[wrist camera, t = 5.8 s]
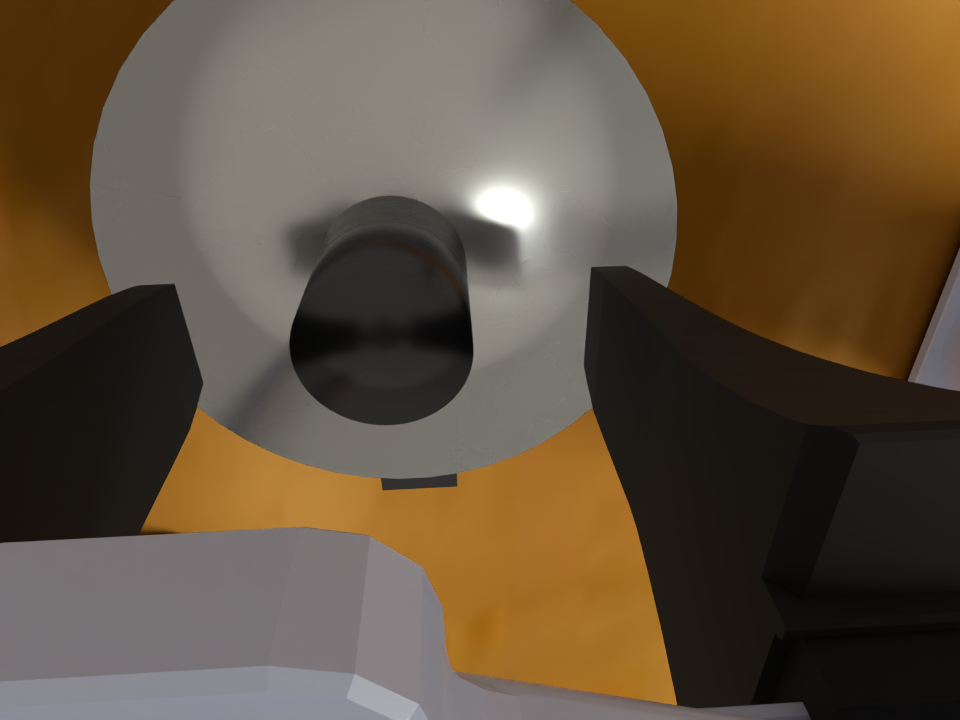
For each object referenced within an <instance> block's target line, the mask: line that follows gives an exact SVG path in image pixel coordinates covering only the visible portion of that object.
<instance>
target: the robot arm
mask: <svg viewBox="0 0 960 720" xmlns="http://www.w3.org/2000/svg"><path fill="white" fill-rule="evenodd" d="M584 370H585V375H586V380H587V385H588V390H589V394H590V398H591V403H592V407H593V411H594V413H595V416H596V419H597V422H598V424H599V427H600V430H601V432H602V435H603V438H604V440H605V443H606V445H607V448H608V451H609V453H610V456H611V458H612V461H613V464H614V466H615V469H616V471H617V474H618V477H619V479H620V482H621V484H622V487H623V490H624V492H625V495H626V497H627V500H628V503H629V505H630V508H631V511H632V515H633V518H634V521H635V524H636V527H637V531H638V535H639V539H640V542H641V546H642V550H643V554H644V558H645V562H646V566H647V570H648V574H649V578H650V582H651V587H652V591H653V595H654V600H655V604H656V608H657V612H658V617H659V621H660V625H661V629H662V634H663V639H664V644H665V648H666V653H667V658H668V662H669V667H670V672H671V677H672V681H673V686H674V691H675V695H676V701H677V705H671V704H664V703H658V702H651V701H645V700H638V699H632V698H625V697H619V696H612V695H606V694H599V693H593V692H586V691H580V690H573V689H567V688H560V687H554V686H547V685H541V684H534V683H528V682H521V681H515V680H508V679H502V678H495V677H489V676H482V675H476V674H469V673H463V672H456V671H454V670H453V669H452V668H451V665H450V661H449V658H448V655H447V651H446V641H445V628H444V615H443V607H442V605H441V603H440V601H439V599H438V597H437V595H436V593H435V591H434V589H433V587H432V585H431V583H430V581H429V579H428V577H427V575H426V573H425V571H424V569H423V567H422V566H420V565H418V564H416V563H415V562H413V561H411V560H410V559H408V558H406V557H404V556H403V555H401V554H399V553H398V552H396V551H394V550H392V549H391V548H389V547H387V546H386V545H384V544H382V543H380V542H379V541H377V540H375V539H374V538H372V537H370V536H367V535H363V534H355V533H347V532H340V531H332V530H324V529H317V528H309V527H293V528H274V529H255V530H236V531H217V532H198V533H179V534H160V535H141V536H138V535H139V533H140V530H141V528H142V526H143V524H144V522H145V520H146V518H147V516H148V514H149V512H150V510H151V508H152V506H153V504H154V502H155V500H156V498H157V496H158V494H159V492H160V490H161V488H162V486H163V484H164V482H165V480H166V478H167V476H168V474H169V472H170V470H171V468H172V466H173V464H174V462H175V460H176V457H177V455H178V453H179V451H180V449H181V447H182V445H183V443H184V441H185V439H186V436H187V434H188V432H189V430H190V427H191V424H192V421H193V418H194V415H195V412H196V409H197V405H198V401H199V398H200V394H201V390H202V387H203V383H204V382H203V379H202V376H201V372H200V369H199V365H198V362H197V358H196V355H195V352H194V348H193V345H192V341H191V338H190V335H189V331H188V328H187V324H186V321H185V317H184V314H183V311H182V307H181V304H180V300H179V297H178V294H177V290H176V287H175V284H155V285H138V286H134V287H131V288H128V289H125V290H122V291H120V292H117V293H115V294H112V295H110V296H108V297H105V298H103V299H101V300H99V301H97V302H95V303H93V304H90V305H88V306H86V307H84V308H82V309H80V310H78V311H76V312H74V313H72V314H70V315H68V316H66V317H64V318H62V319H60V320H58V321H56V322H53V323H51V324H49V325H47V326H45V327H43V328H41V329H39V330H37V331H35V332H33V333H31V334H28V335H26V336H24V337H22V338H20V339H17V340H15V341H13V342H11V343H9V344H6V345H4V346H2V347H0V720H960V249H959V251H958V254H957V256H956V259H955V261H954V264H953V266H952V269H951V272H950V274H949V277H948V279H947V282H946V284H945V287H944V289H943V292H942V294H941V297H940V300H939V302H938V305H937V307H936V310H935V312H934V315H933V317H932V320H931V322H930V325H929V328H928V330H927V333H926V335H925V338H924V340H923V343H922V345H921V348H920V350H919V353H918V356H917V358H916V361H915V363H914V366H913V368H912V371H911V373H910V376H909V379H908V381H905V380H900V379H895V378H890V377H886V376H882V375H878V374H874V373H870V372H866V371H862V370H858V369H855V368H851V367H848V366H844V365H841V364H838V363H834V362H831V361H827V360H824V359H821V358H817V357H814V356H811V355H808V354H805V353H803V352H800V351H797V350H794V349H791V348H789V347H786V346H784V345H781V344H779V343H776V342H773V341H771V340H768V339H766V338H763V337H761V336H758V335H756V334H754V333H752V332H749V331H747V330H745V329H743V328H741V327H739V326H737V325H734V324H732V323H730V322H728V321H726V320H724V319H722V318H720V317H718V316H716V315H714V314H712V313H711V312H709V311H707V310H705V309H703V308H701V307H699V306H698V305H696V304H694V303H692V302H691V301H689V300H687V299H685V298H684V297H682V296H680V295H678V294H677V293H675V292H673V291H672V290H670V289H668V288H666V287H665V286H663V285H661V284H660V283H658V282H656V281H655V280H653V279H651V278H650V277H648V276H646V275H644V274H642V273H641V272H639V271H637V270H635V269H633V268H631V267H628V266H604V267H591V275H590V288H589V301H588V314H587V327H586V340H585V353H584Z"/></svg>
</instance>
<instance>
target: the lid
mask: <svg viewBox="0 0 960 720" xmlns="http://www.w3.org/2000/svg"><path fill="white" fill-rule="evenodd" d="M90 196H91V214H92V225H93V230H94V235H95V240H96V245H97V250H98V255H99V259H100V262H101V265H102V268H103V271H104V274H105V277H106V280H107V283H108V285H109V288H110V291H111V294H115V293H117V292H120V291H122V290H125V289H128V288H131V287H134V286H138V285H155V284H175V287H176V290H177V294H178V297H179V300H180V304H181V307H182V311H183V314H184V317H185V321H186V324H187V328H188V331H189V335H190V338H191V341H192V345H193V348H194V352H195V355H196V358H197V362H198V365H199V369H200V372H201V376H202V379H203V382H204V383H203V387H202V390H201V394H200V398H199V401H198V405H197V407H198V408H200V409H201V410H202V411H204V412H205V413H206V414H207V415H209V416H210V417H211V418H213V419H214V420H215V421H217V422H218V423H219V424H221V425H223V426H224V427H226V428H228V429H229V430H231V431H233V432H234V433H236V434H237V435H239V436H241V437H242V438H244V439H246V440H247V441H249V442H252V443H254V444H256V445H258V446H260V447H262V448H264V449H266V450H268V451H270V452H273V453H275V454H277V455H280V456H282V457H285V458H288V459H291V460H294V461H296V462H299V463H302V464H305V465H308V466H312V467H316V468H320V469H324V470H328V471H332V472H336V473H342V474H349V475H356V476H362V477H372V478H391V479H406V478H427V477H435V476H442V475H449V474H455V473H461V472H465V471H469V470H473V469H477V468H481V467H485V466H488V465H491V464H494V463H496V462H499V461H502V460H505V459H508V458H510V457H513V456H516V455H518V454H520V453H522V452H524V451H526V450H528V449H530V448H532V447H534V446H536V445H538V444H540V443H543V442H544V441H546V440H547V439H549V438H550V437H552V436H554V435H555V434H557V433H558V432H560V431H562V430H563V429H565V428H566V427H568V426H569V425H571V424H572V423H573V422H574V421H576V420H577V419H578V418H579V417H581V416H582V415H583V414H584V413H586V412H587V411H588V410H589V409H591V408H592V403H591V398H590V394H589V390H588V385H587V380H586V375H585V370H584V353H585V340H586V327H587V314H588V301H589V288H590V275H591V267H604V266H628V267H631V268H633V269H635V270H637V271H639V272H641V273H642V274H644V275H646V276H648V277H650V278H651V279H653V280H655V281H656V282H658V283H660V284H661V285H663V286H665V287H666V288H667V286H668V283H669V280H670V276H671V273H672V266H673V260H674V253H675V247H676V240H677V198H676V190H675V182H674V174H673V167H672V163H671V159H670V156H669V152H668V148H667V144H666V141H665V137H664V133H663V130H662V128H661V125H660V123H659V121H658V118H657V116H656V114H655V111H654V109H653V107H652V104H651V102H650V100H649V97H648V95H647V93H646V91H645V90H644V88H643V86H642V85H641V83H640V82H639V80H638V78H637V77H636V75H635V73H634V72H633V70H632V69H631V67H630V65H629V64H628V62H627V60H626V59H625V57H624V56H623V55H622V54H621V53H620V51H619V50H618V49H617V48H616V47H615V45H614V44H613V43H612V42H611V41H610V39H609V38H608V37H607V36H606V35H605V33H604V32H603V31H602V30H601V29H600V27H599V26H598V25H597V24H596V23H595V22H594V21H593V20H592V19H590V18H589V17H588V16H587V15H586V14H585V13H584V12H583V11H582V10H580V9H579V8H578V7H577V6H576V5H575V4H574V3H573V2H571V1H570V0H174V1H173V2H172V3H171V4H170V5H169V6H168V7H167V8H166V9H165V11H164V12H163V13H162V14H161V15H160V16H159V17H158V18H157V19H156V20H155V21H154V22H153V24H152V25H151V26H150V27H149V28H148V29H147V30H146V31H145V32H144V33H143V35H142V36H141V38H140V39H139V41H138V42H137V44H136V45H135V47H134V48H133V50H132V52H131V53H130V55H129V56H128V58H127V59H126V61H125V62H124V64H123V65H122V67H121V68H120V70H119V73H118V75H117V77H116V79H115V82H114V84H113V86H112V89H111V91H110V93H109V95H108V98H107V100H106V102H105V105H104V107H103V111H102V115H101V119H100V122H99V126H98V130H97V134H96V138H95V142H94V146H93V157H92V167H91V178H90Z"/></svg>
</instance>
